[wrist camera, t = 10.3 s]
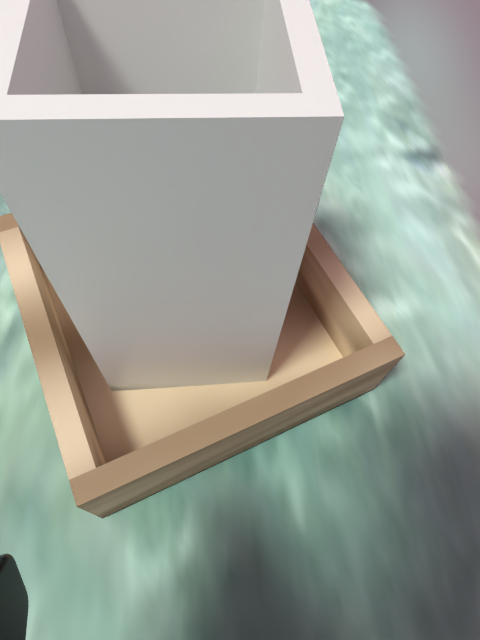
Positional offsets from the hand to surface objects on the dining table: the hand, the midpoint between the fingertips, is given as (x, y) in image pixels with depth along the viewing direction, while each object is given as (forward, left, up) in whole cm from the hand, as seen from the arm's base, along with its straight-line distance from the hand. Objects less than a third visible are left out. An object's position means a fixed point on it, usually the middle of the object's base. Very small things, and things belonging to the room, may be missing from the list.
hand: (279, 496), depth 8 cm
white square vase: (+8, -1, -8) cm, 12 cm away
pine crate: (+8, -1, -9) cm, 12 cm away
